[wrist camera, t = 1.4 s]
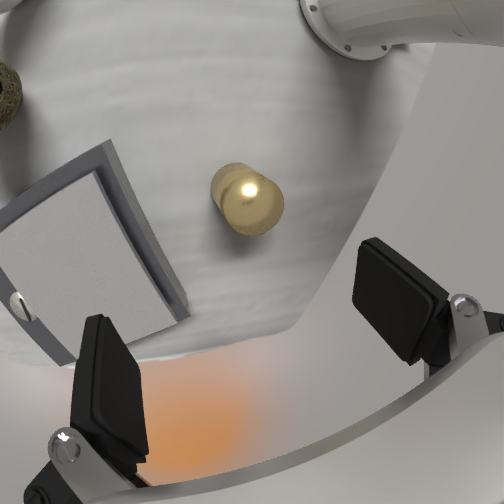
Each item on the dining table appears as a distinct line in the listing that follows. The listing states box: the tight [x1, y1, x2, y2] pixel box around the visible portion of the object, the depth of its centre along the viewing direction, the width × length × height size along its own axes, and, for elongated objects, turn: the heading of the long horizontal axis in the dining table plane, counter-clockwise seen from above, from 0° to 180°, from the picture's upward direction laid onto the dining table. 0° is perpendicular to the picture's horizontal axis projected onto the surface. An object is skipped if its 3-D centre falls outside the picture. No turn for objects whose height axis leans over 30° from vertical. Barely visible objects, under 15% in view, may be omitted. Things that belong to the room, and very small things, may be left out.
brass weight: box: [211, 163, 284, 236], centre depth 24 cm, size 5×5×6 cm
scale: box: [0, 139, 190, 367], centre depth 22 cm, size 18×18×4 cm
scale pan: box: [0, 170, 177, 359], centre depth 20 cm, size 12×15×1 cm
